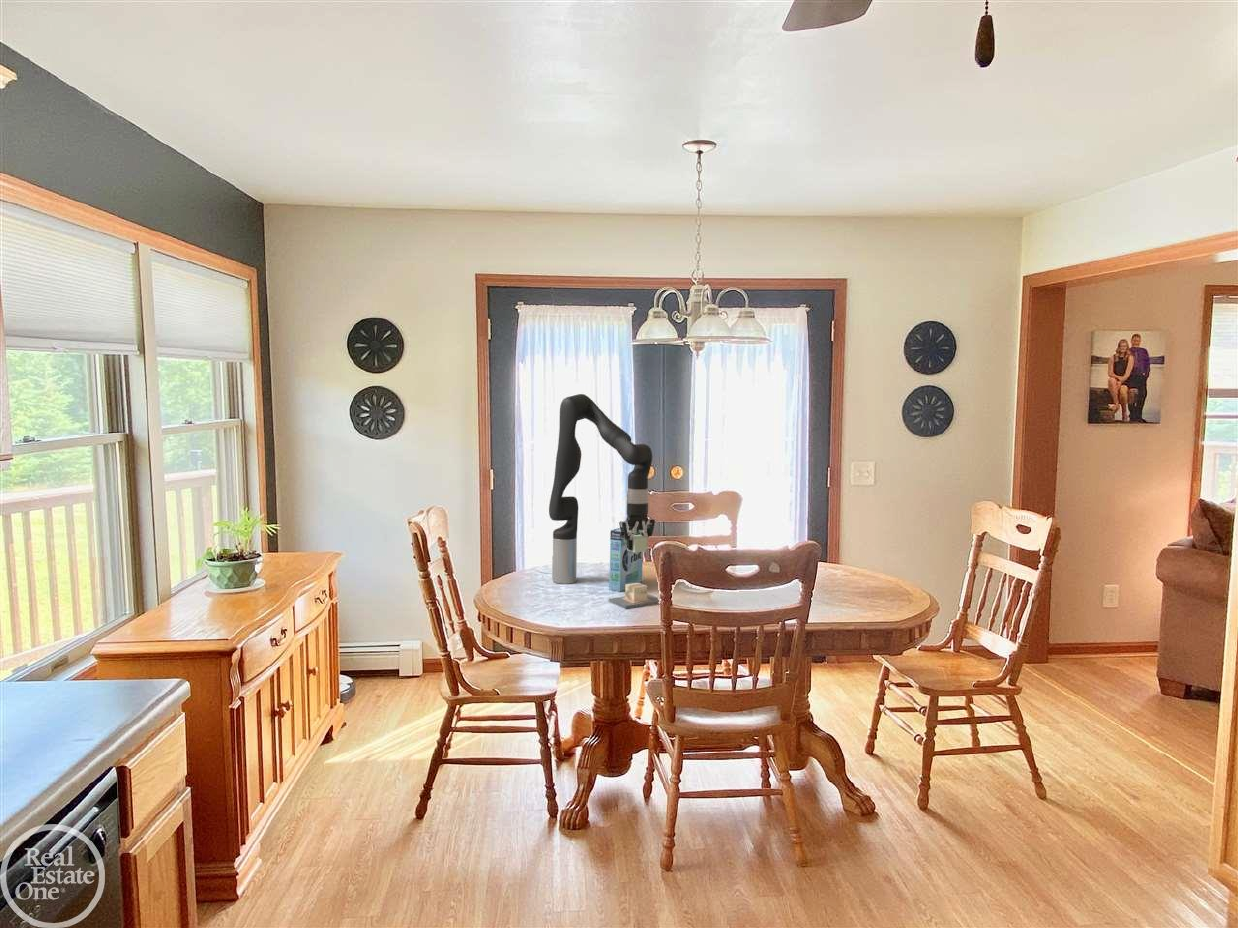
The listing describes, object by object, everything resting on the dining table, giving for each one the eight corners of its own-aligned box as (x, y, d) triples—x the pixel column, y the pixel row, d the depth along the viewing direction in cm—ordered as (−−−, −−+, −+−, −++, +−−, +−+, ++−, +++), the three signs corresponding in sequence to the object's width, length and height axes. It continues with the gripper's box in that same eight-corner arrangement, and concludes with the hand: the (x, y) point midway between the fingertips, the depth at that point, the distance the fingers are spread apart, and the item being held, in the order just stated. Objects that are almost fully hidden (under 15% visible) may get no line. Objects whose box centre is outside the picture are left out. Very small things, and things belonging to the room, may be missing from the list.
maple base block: (625, 598, 287) (625, 584, 287) (638, 596, 290) (638, 582, 290) (633, 601, 282) (634, 587, 282) (646, 599, 285) (647, 585, 285)
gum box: (631, 580, 320) (632, 522, 318) (643, 581, 318) (644, 523, 316) (608, 590, 303) (609, 530, 301) (620, 592, 300) (621, 531, 298)
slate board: (608, 601, 287) (608, 598, 287) (646, 595, 295) (646, 592, 295) (625, 608, 277) (625, 605, 277) (663, 602, 286) (663, 599, 286)
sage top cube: (627, 549, 285) (627, 535, 285) (638, 548, 288) (639, 534, 288) (634, 552, 281) (635, 538, 281) (646, 551, 284) (647, 537, 283)
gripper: (648, 498, 290) (647, 545, 292) (614, 501, 282) (613, 549, 284) (660, 501, 284) (659, 549, 285) (626, 504, 276) (625, 553, 278)
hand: (636, 549), depth 285 cm, fingers closed on sage top cube, 5 cm apart
